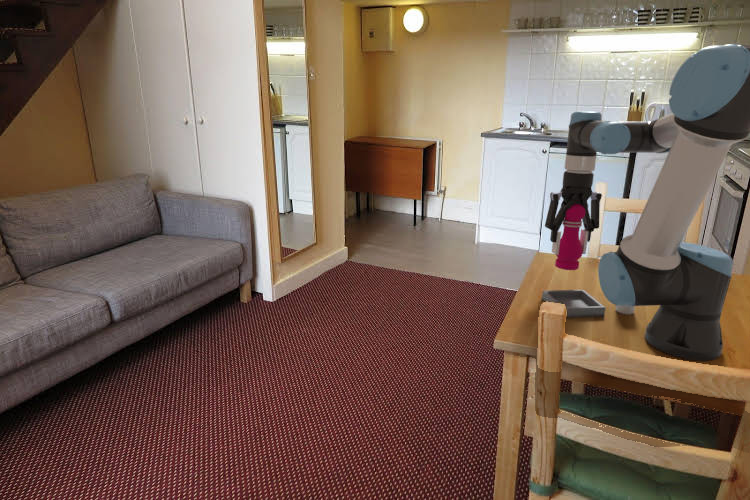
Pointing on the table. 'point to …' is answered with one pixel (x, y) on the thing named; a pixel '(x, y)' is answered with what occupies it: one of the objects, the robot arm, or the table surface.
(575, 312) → the tray
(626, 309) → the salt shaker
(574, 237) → the pepper mill
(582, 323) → the table surface
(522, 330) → the table surface
